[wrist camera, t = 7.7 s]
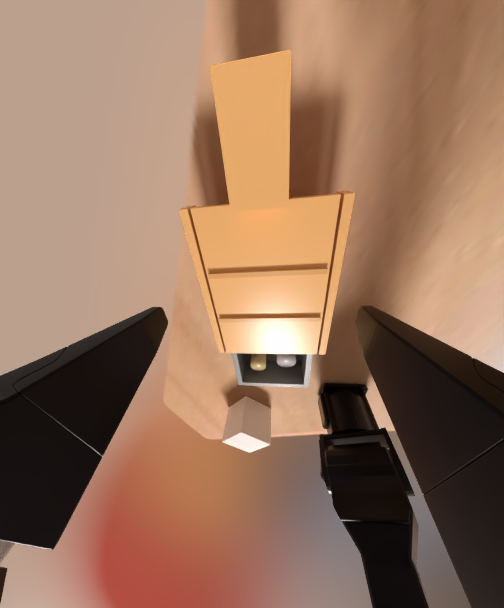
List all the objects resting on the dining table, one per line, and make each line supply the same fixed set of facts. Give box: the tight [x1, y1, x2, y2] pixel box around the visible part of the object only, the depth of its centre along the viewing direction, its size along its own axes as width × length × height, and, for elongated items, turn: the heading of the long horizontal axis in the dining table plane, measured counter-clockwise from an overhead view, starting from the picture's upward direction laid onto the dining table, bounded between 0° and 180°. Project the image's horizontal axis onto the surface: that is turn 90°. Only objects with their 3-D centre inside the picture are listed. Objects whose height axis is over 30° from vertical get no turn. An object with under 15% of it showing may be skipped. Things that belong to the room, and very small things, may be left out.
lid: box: [179, 49, 355, 355], centre depth 14 cm, size 11×19×4 cm, turn 6°
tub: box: [231, 353, 313, 388], centre depth 22 cm, size 9×13×4 cm
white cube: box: [222, 396, 271, 453], centre depth 34 cm, size 6×6×6 cm
